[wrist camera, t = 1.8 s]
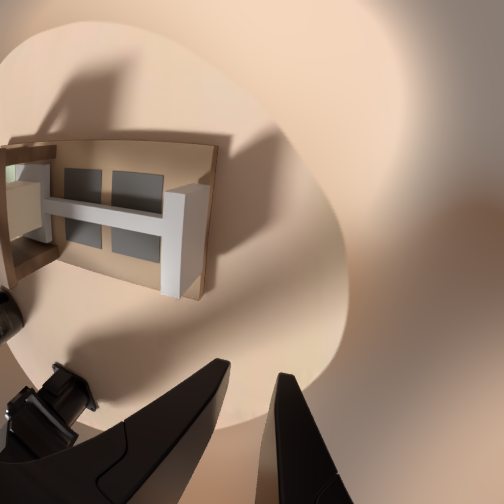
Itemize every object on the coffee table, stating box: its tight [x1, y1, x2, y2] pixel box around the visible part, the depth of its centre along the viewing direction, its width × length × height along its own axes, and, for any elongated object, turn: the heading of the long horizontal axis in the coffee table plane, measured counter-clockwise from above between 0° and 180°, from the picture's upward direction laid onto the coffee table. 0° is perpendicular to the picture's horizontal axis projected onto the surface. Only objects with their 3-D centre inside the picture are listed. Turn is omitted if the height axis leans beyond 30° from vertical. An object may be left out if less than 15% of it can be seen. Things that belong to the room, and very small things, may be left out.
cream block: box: [6, 180, 42, 239], centre depth 19 cm, size 4×4×4 cm
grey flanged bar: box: [16, 164, 210, 299], centre depth 18 cm, size 7×20×4 cm, turn 82°
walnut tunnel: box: [0, 145, 59, 289], centre depth 18 cm, size 11×6×7 cm, turn 172°
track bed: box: [1, 140, 218, 301], centre depth 21 cm, size 11×26×1 cm, turn 82°
